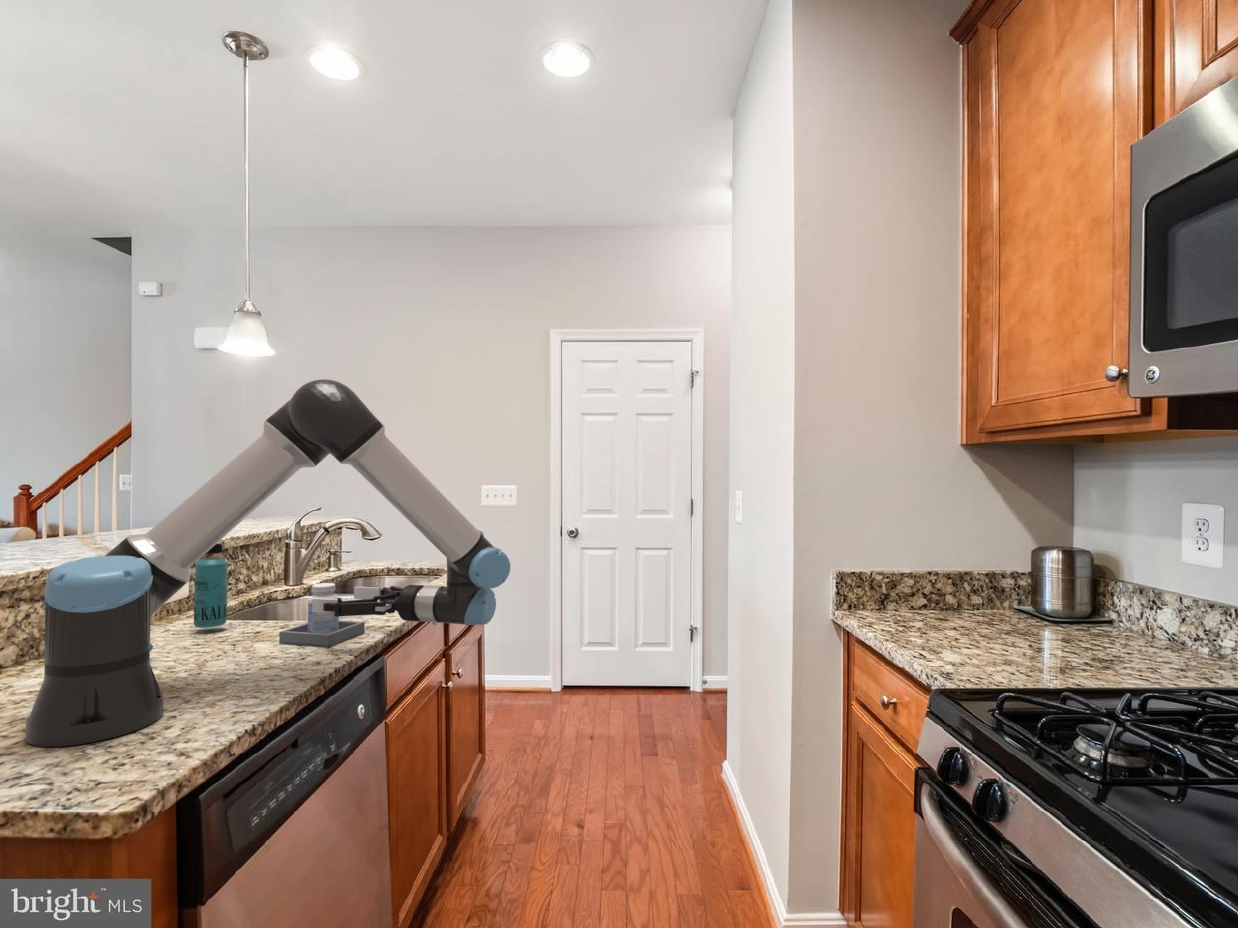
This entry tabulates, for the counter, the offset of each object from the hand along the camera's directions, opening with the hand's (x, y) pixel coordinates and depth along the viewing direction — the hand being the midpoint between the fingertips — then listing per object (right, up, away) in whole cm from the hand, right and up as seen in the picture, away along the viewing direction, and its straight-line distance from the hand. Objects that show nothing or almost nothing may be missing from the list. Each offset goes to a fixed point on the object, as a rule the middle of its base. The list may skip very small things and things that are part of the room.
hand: (335, 598), depth 136 cm
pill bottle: (-3, -8, 0) cm, 9 cm away
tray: (-3, -9, 0) cm, 9 cm away
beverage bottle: (-31, -9, +6) cm, 33 cm away
